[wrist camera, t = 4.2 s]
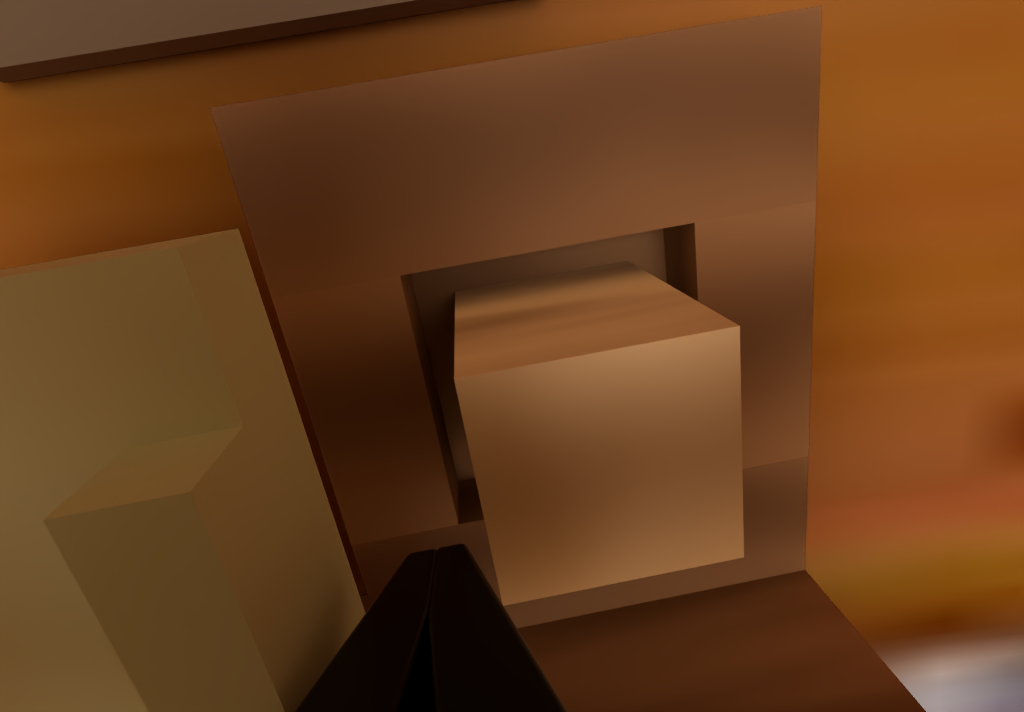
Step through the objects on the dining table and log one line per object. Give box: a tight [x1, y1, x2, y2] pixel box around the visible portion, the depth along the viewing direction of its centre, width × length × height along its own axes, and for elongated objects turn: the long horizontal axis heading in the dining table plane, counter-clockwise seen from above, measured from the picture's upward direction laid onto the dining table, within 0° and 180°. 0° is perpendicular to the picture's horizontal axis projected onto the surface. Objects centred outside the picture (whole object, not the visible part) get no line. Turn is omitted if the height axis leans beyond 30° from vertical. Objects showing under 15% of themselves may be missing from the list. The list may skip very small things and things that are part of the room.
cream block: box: [454, 261, 744, 606], centre depth 12 cm, size 4×4×6 cm
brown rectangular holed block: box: [210, 6, 926, 712], centre depth 11 cm, size 16×25×9 cm, turn 99°
